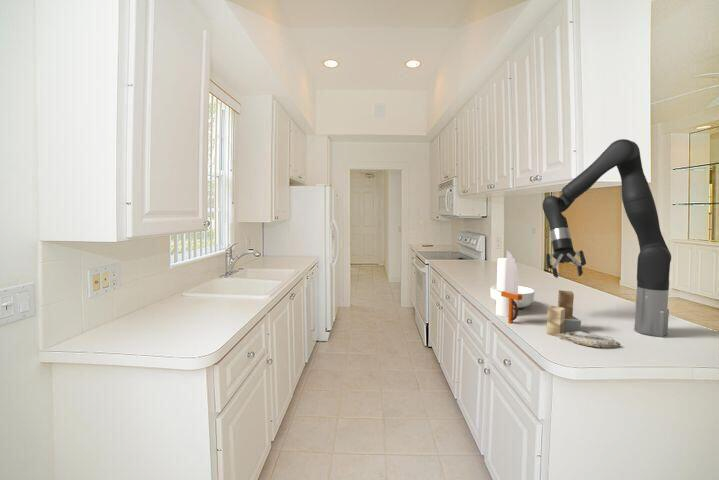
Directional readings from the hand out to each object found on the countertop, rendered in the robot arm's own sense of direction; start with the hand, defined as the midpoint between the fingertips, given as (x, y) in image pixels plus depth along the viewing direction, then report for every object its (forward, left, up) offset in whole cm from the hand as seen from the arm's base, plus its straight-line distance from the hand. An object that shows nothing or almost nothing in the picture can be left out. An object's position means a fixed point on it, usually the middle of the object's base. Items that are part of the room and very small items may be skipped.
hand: (568, 276), depth 147 cm
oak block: (-5, +21, -19) cm, 29 cm away
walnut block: (-5, +12, -14) cm, 19 cm away
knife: (+12, +22, -19) cm, 31 cm away
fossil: (-16, +19, -19) cm, 32 cm away
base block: (-5, +12, -19) cm, 23 cm away
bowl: (+26, -3, -19) cm, 33 cm away
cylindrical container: (+20, +13, -19) cm, 31 cm away
